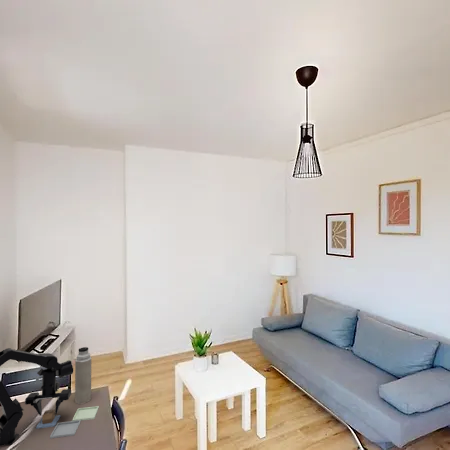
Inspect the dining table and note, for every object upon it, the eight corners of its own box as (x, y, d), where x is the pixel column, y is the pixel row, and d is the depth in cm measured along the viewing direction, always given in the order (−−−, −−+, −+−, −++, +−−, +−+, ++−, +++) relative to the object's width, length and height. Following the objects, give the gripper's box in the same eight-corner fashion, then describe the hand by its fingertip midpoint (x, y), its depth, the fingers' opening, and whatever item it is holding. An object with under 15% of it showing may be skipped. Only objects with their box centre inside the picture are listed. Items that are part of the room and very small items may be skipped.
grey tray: (74, 436, 134) (74, 433, 134) (49, 439, 132) (49, 436, 133) (80, 422, 144) (80, 420, 144) (57, 425, 142) (57, 422, 142)
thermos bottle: (80, 396, 168) (80, 345, 170) (94, 396, 168) (94, 345, 169) (71, 404, 160) (72, 350, 162) (86, 404, 160) (86, 351, 161)
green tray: (94, 419, 146) (94, 417, 146) (72, 422, 144) (72, 420, 144) (98, 408, 156) (98, 406, 156) (78, 410, 154) (78, 408, 154)
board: (54, 427, 141) (54, 424, 141) (35, 429, 140) (35, 427, 140) (60, 417, 149) (60, 415, 149) (42, 419, 147) (42, 417, 147)
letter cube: (51, 422, 143) (51, 414, 143) (42, 424, 142) (42, 415, 142) (54, 418, 147) (54, 409, 147) (45, 419, 146) (45, 410, 146)
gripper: (74, 372, 155) (74, 403, 154) (34, 375, 151) (34, 407, 150) (67, 382, 144) (67, 415, 143) (24, 386, 140) (24, 421, 140)
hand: (48, 414), depth 144 cm, fingers open, 7 cm apart
